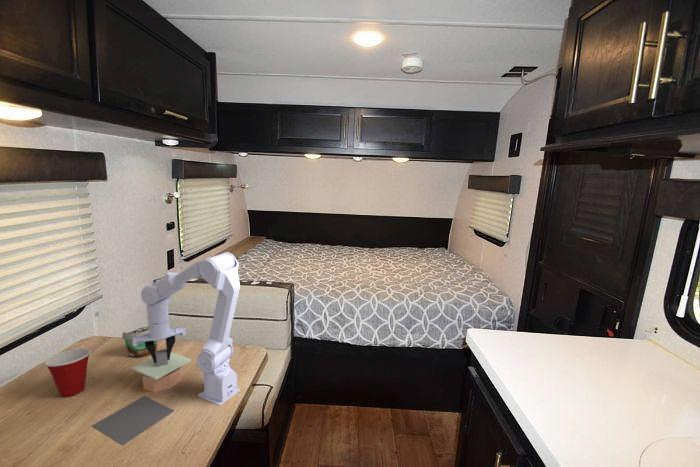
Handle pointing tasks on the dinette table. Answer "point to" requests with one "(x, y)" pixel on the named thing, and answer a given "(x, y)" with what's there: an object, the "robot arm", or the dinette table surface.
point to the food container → (140, 348)
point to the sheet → (162, 369)
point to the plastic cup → (69, 370)
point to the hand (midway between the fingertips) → (161, 360)
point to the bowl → (162, 381)
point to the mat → (132, 420)
